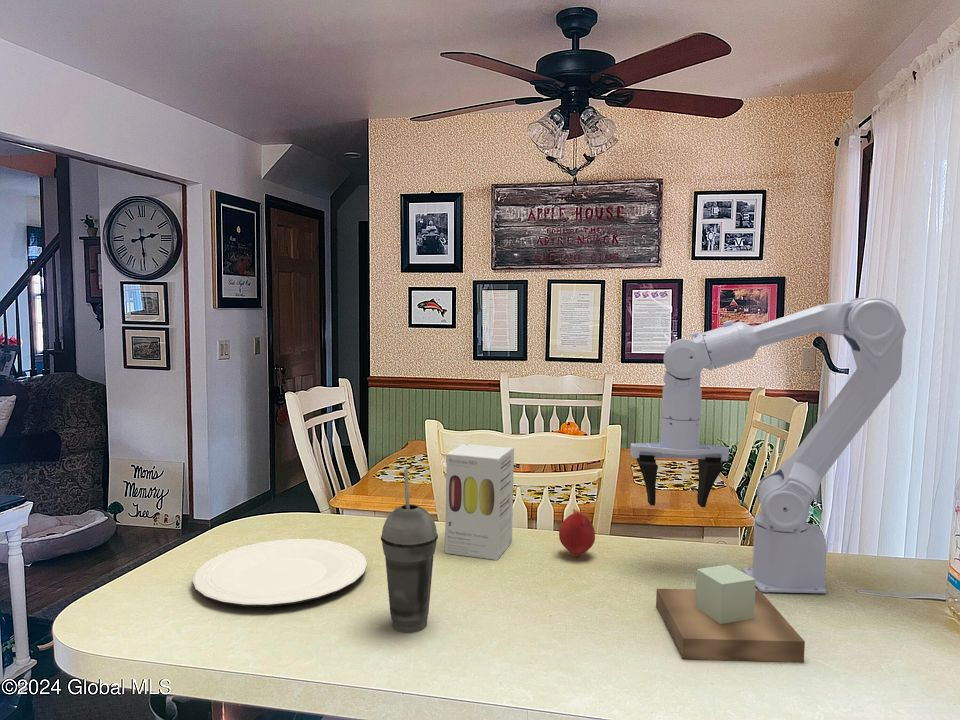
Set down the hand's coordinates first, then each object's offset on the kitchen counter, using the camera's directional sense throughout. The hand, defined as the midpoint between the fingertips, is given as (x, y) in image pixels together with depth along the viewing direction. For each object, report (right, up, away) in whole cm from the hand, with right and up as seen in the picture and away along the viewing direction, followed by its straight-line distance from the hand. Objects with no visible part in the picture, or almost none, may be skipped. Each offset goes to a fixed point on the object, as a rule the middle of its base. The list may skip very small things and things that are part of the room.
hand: (676, 504), depth 107 cm
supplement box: (-30, -10, +10) cm, 33 cm away
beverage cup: (-39, -12, -18) cm, 45 cm away
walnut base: (+1, -12, -19) cm, 23 cm away
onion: (-15, -10, +6) cm, 19 cm away
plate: (-60, -11, -3) cm, 61 cm away
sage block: (+1, -10, -19) cm, 22 cm away
